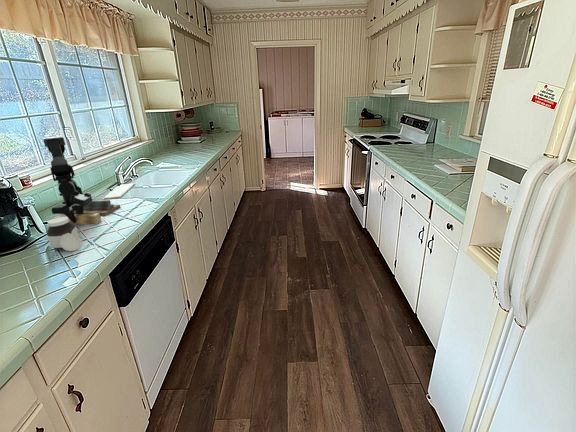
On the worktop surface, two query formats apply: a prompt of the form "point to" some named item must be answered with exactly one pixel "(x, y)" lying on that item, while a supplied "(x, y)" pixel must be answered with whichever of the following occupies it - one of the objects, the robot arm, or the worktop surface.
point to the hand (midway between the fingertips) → (78, 220)
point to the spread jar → (63, 234)
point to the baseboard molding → (119, 191)
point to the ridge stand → (99, 207)
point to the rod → (84, 218)
